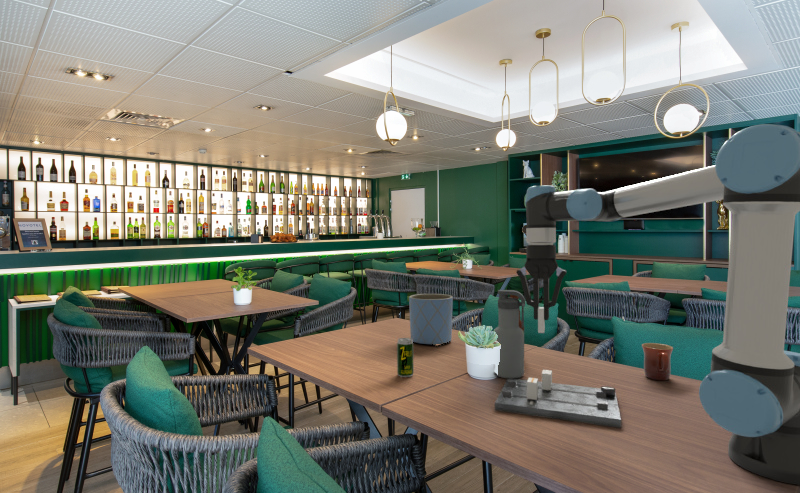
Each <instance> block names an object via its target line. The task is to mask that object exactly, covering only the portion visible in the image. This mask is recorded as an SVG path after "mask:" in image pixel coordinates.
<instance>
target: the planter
mask: <svg viewBox="0 0 800 493" xmlns="http://www.w3.org/2000/svg"><path fill="white" fill-rule="evenodd" d="M453 299H454V297H453V295H450V294H443V293H418V294H417V293H416V294H412V295H410V296H409V297H408V300H409V301H408V302H409V304H408V305H409V307H408V308H409V309H408V310H409V327H410V328H409V330H410V338H411V339H413V342H414V343H417V344H421V345H422V344H424V345H432V344H433V346H434V345H436V344H443V343H446V344H447V342H448V343H450V342H451V341H452V336H453V334H452V333H453V331H452V330H453V305H454V304H453V302H454V300H453ZM449 341H450V342H449ZM443 345H444V344H443Z"/></svg>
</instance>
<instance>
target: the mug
mask: <svg viewBox="0 0 800 493" xmlns="http://www.w3.org/2000/svg"><path fill="white" fill-rule="evenodd" d="M641 348H642V350H643V356H644V358H643V372H644V375H645V377H646V378H647V379H650V380H653V381H659V380H665V381H668V380H669V379H670V378H671V373H672V371H671V370H672V369H671V365H672V364H671V358H672V357H671V355H672V352H673V351H674V346H671V345H668V344H664V343H657V342H656V343H655V342H645V343H642V344H641Z"/></svg>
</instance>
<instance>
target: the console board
mask: <svg viewBox="0 0 800 493" xmlns="http://www.w3.org/2000/svg"><path fill="white" fill-rule="evenodd" d="M527 381H528V379H520V378H516V379H512V378H508V379H507V378H506V381H505V383H504V385H503V387H502V388H501V390H500V393H499V394H498V396H497V397H496V400H495V401H494V411H498V412H504V413H505V412H506V413H512V414H519V415H520V414H521V415H525V416H526V415H527V416H532V417H533V416H534V417H540V418H549V419H556V420H561V421H562V420H563V421H569V422H570V421H571V422H577V423H584V424H590V425H597V426H606V427H612V428H620V429H621V428H622V417H621V413H620V408H619V403H618V398H617V393H616V388H615V387H612V386H607V385H603V386H600V387H591V386H582V385H575V384H566V383H555V382H552V388H551V390H544V389H542V381H539V380H538V397H537V400H534V399H527Z"/></svg>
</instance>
